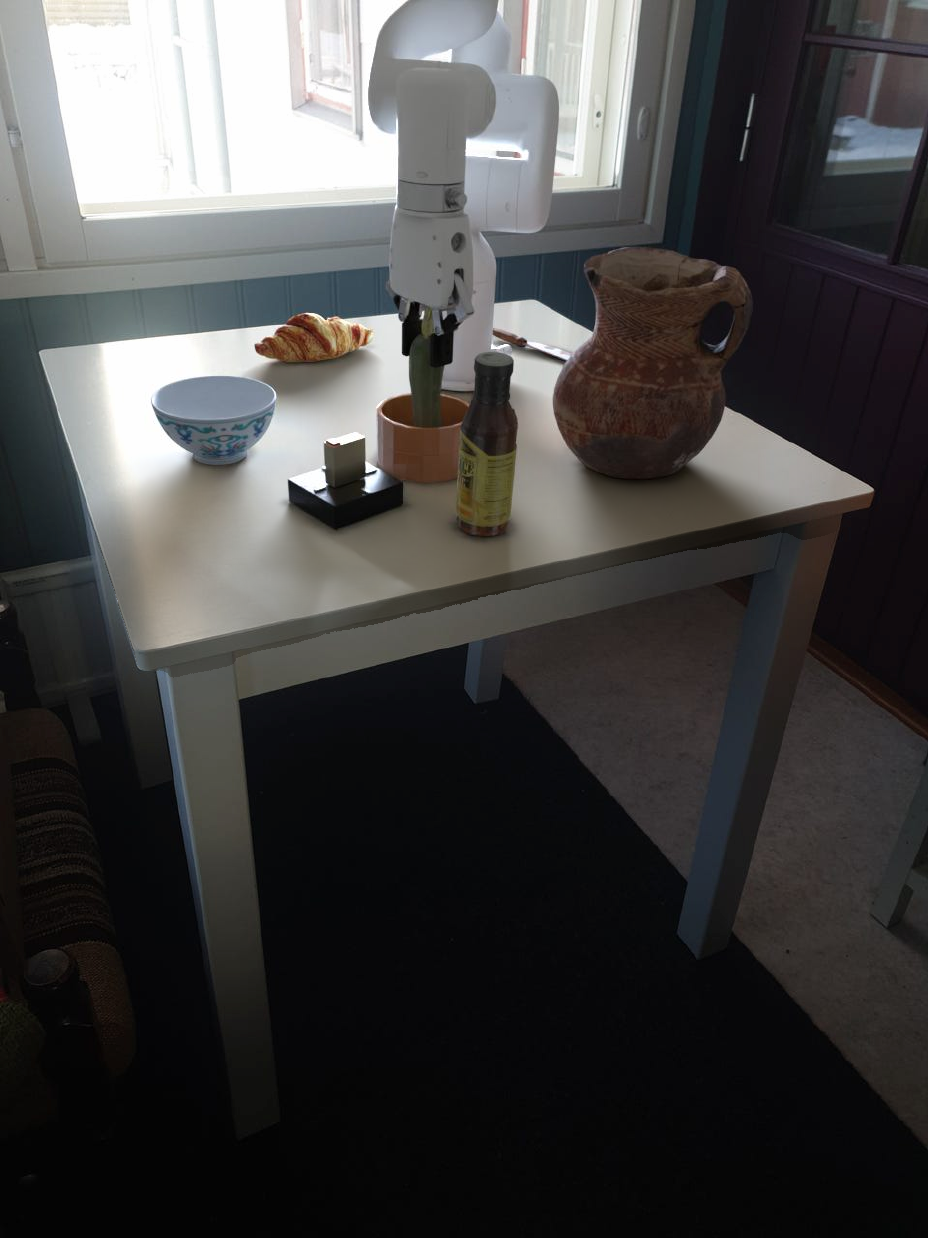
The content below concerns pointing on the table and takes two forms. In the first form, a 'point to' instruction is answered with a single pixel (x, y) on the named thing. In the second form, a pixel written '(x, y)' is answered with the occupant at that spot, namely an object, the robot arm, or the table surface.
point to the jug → (649, 362)
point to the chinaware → (215, 415)
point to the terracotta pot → (419, 440)
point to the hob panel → (346, 496)
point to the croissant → (313, 339)
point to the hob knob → (344, 459)
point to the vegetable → (425, 378)
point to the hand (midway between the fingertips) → (427, 357)
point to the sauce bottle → (487, 449)
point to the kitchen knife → (530, 344)
